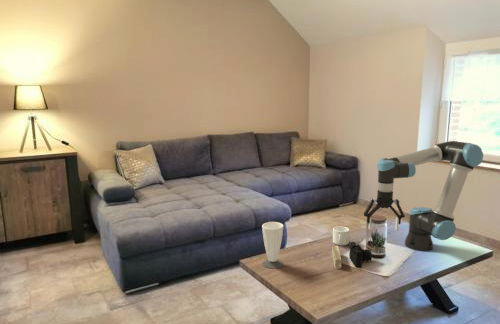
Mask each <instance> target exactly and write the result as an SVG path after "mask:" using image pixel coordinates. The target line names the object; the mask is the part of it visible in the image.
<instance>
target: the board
mask: <svg viewBox="0 0 500 324" xmlns="http://www.w3.org/2000/svg"><path fill="white" fill-rule="evenodd" d="M331 248H332V249H331V254H332V259H333V265H334V269H336V270H337V269H340V270H341V269H342V258H341V252H340V249H339V245H332V246H331Z"/></svg>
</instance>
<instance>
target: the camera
mask: <svg viewBox="0 0 500 324" xmlns="http://www.w3.org/2000/svg"><path fill="white" fill-rule="evenodd" d="M349 243H350V244H349V260H350V259H351V260H350V261H351V263H352V265H353V266H354V267H355V268H356V269H362V267H363V264H362V263H363V262H364V263H365V262H371V261H372V260H373V255H372V251H371V250H370V249H367V248H365V249H364V248H362V246H361V245H360V244H357V243H356V242H355V241H351V242H349Z"/></svg>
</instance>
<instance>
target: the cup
mask: <svg viewBox="0 0 500 324" xmlns="http://www.w3.org/2000/svg"><path fill="white" fill-rule="evenodd" d="M261 229H262V236H263V237H262V238H263V243H264V245H263V246H264V249H265V253H266V257H267V259H265V260H266V261H264V260H263V261H264V262H263V261H262V262H263V263H261V264H264V265H262V266H263V267H264V266H265V267H264V268H266V267H267V268H266V269H270V268H273V269H274V268H276V269H279V268H282V267H283V266H284V262H283V260H280V259H278V258H279V255H280V250H281V246H282V240H283V235H284V233H283V232H284V224H283V223H281V222H278V221H268V222H265V223H263V224H262V225H261Z"/></svg>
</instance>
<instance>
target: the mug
mask: <svg viewBox="0 0 500 324" xmlns="http://www.w3.org/2000/svg"><path fill="white" fill-rule="evenodd" d="M350 240H351V232H350V228H349V227H347V226H341V225H339V226H334V227H333V228H332V242H333V244H335V246H342V247H343V246H347V245H349V243H350Z"/></svg>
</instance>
